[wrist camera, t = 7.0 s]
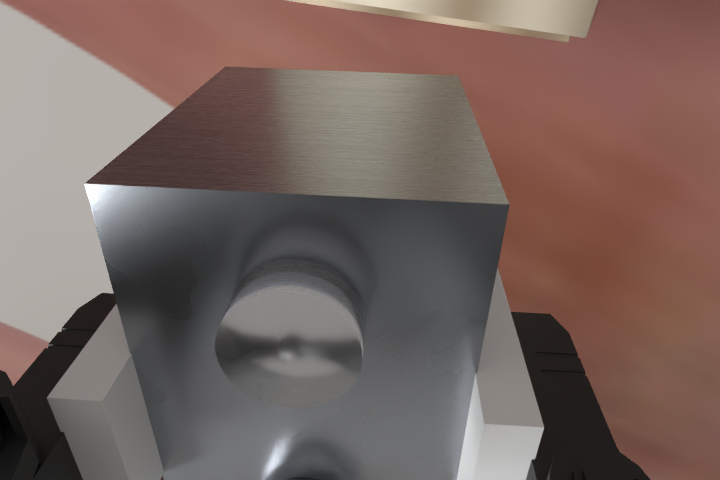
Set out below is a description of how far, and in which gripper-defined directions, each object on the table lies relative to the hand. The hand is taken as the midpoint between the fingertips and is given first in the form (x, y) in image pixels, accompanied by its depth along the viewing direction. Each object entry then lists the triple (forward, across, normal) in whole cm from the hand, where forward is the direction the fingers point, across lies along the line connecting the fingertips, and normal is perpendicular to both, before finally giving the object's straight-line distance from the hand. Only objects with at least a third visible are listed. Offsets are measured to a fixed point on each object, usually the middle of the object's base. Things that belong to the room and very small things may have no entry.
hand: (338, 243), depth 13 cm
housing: (0, 0, 0) cm, 0 cm away
